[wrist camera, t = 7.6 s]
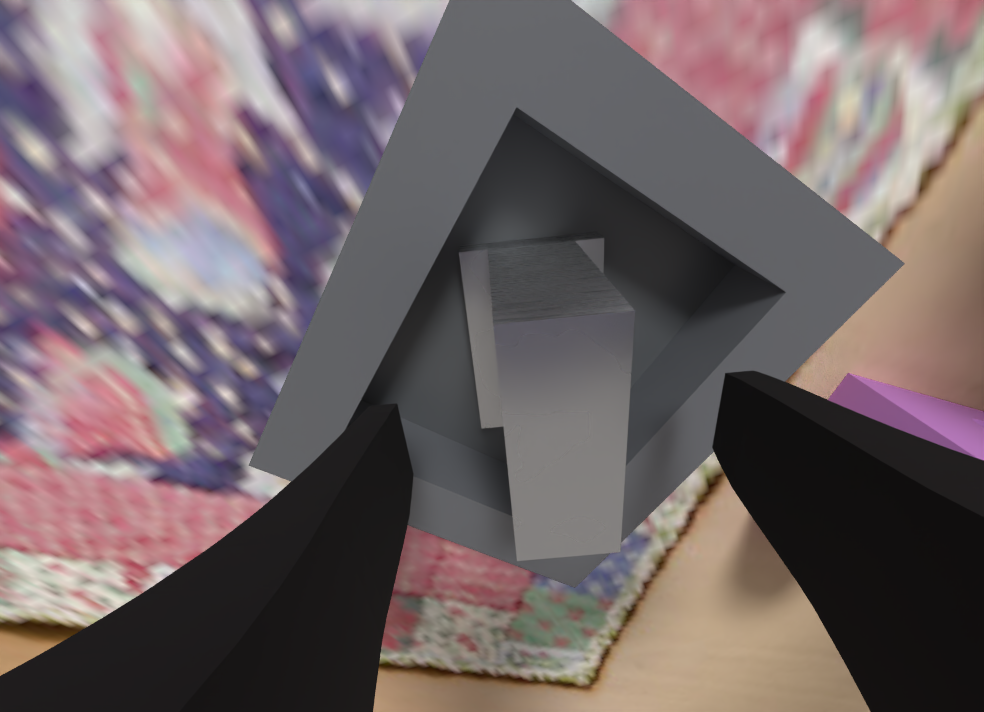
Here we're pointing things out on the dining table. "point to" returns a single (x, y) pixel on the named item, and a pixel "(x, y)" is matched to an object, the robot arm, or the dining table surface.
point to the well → (554, 212)
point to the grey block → (554, 386)
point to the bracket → (915, 413)
